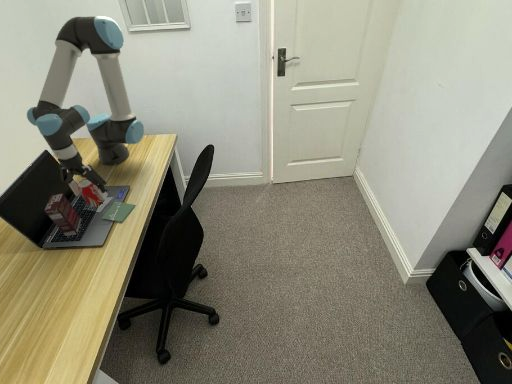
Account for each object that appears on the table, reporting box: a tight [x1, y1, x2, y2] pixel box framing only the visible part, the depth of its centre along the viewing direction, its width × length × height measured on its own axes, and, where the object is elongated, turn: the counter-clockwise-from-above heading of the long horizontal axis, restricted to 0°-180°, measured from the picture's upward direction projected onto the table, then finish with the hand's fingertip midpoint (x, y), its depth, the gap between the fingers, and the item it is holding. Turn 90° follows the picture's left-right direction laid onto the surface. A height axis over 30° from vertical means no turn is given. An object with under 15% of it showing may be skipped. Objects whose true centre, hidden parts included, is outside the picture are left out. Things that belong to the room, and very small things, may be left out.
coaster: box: [101, 202, 136, 223], centre depth 120 cm, size 10×10×1 cm
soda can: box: [77, 178, 105, 207], centre depth 121 cm, size 7×7×12 cm
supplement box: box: [43, 193, 83, 237], centre depth 109 cm, size 9×5×16 cm, turn 13°
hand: (92, 195), depth 121 cm, fingers open, 13 cm apart
